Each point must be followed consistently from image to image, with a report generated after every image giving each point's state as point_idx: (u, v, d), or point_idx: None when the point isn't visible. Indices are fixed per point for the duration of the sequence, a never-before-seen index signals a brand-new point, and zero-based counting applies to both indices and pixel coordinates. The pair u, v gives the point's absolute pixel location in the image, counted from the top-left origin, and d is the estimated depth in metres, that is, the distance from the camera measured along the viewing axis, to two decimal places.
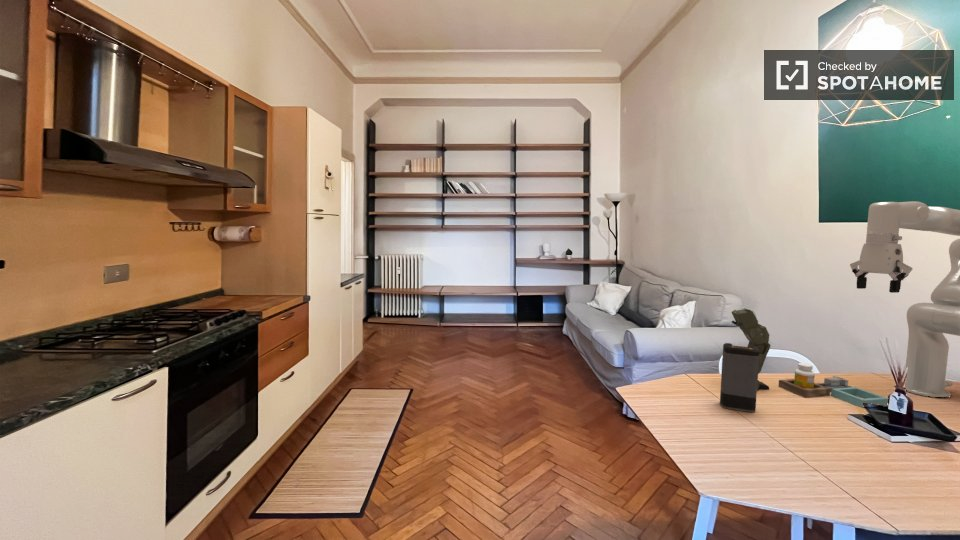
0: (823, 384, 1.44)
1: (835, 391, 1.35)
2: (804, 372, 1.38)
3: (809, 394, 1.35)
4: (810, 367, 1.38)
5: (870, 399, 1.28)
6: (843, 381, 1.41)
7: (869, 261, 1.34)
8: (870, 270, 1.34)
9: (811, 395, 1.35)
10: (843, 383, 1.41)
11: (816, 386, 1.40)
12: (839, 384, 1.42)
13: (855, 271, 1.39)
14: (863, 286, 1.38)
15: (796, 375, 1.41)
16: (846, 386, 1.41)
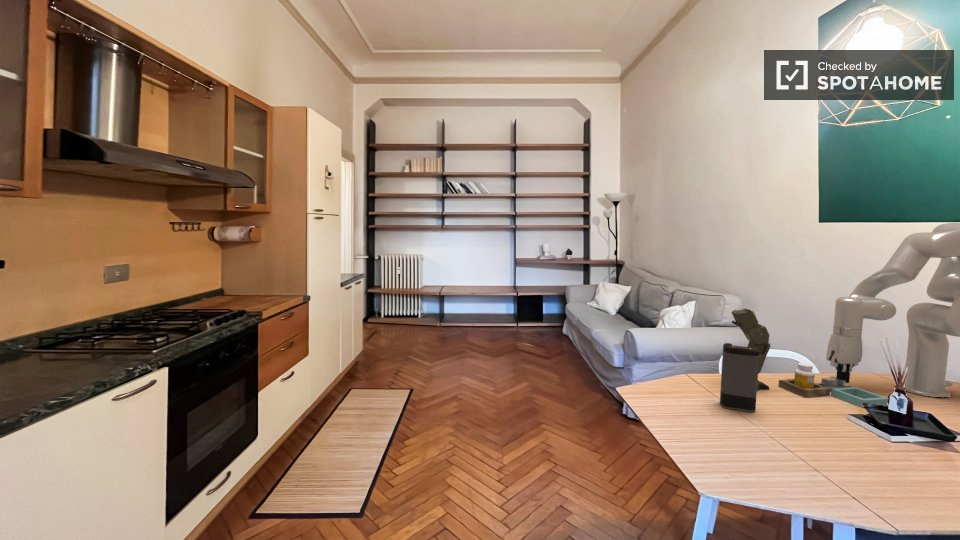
0: None
1: (835, 391, 1.35)
2: (804, 372, 1.38)
3: (809, 394, 1.35)
4: (810, 367, 1.38)
5: (870, 399, 1.28)
6: (840, 381, 1.41)
7: (849, 354, 1.40)
8: (848, 362, 1.40)
9: (811, 395, 1.35)
10: (840, 383, 1.41)
11: (816, 386, 1.40)
12: (836, 384, 1.41)
13: (841, 367, 1.42)
14: None
15: (796, 375, 1.41)
16: (846, 386, 1.41)
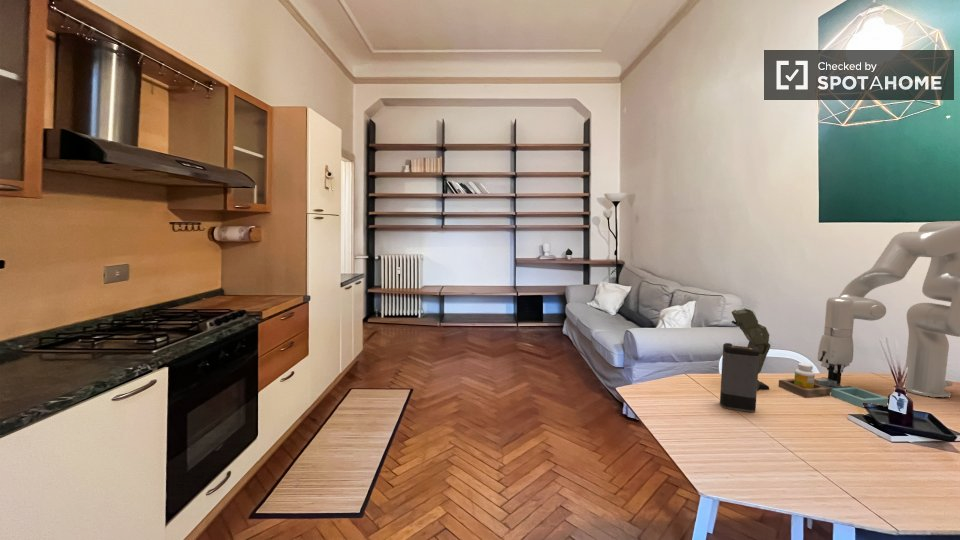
0: None
1: (835, 391, 1.35)
2: (804, 372, 1.38)
3: (809, 394, 1.35)
4: (810, 367, 1.38)
5: (870, 399, 1.28)
6: (832, 382, 1.41)
7: (840, 354, 1.39)
8: (839, 362, 1.40)
9: (811, 395, 1.35)
10: (832, 384, 1.41)
11: (816, 386, 1.40)
12: (827, 385, 1.41)
13: (832, 367, 1.41)
14: None
15: (796, 375, 1.41)
16: (846, 386, 1.41)
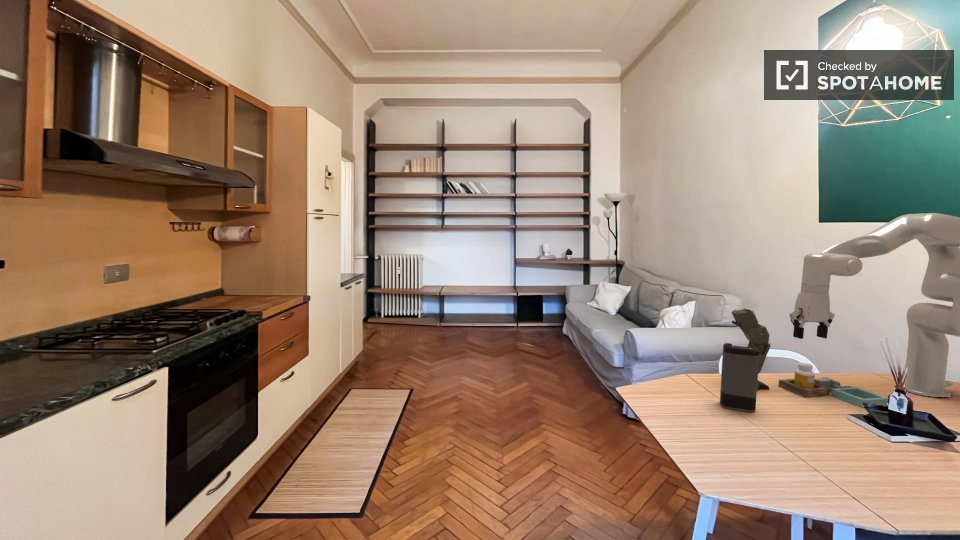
0: None
1: (835, 391, 1.35)
2: (804, 372, 1.38)
3: (809, 394, 1.35)
4: (810, 367, 1.38)
5: (870, 399, 1.28)
6: (832, 382, 1.41)
7: (816, 311, 1.36)
8: (815, 320, 1.37)
9: (811, 395, 1.35)
10: (832, 384, 1.41)
11: (816, 386, 1.40)
12: (828, 385, 1.41)
13: (797, 322, 1.37)
14: None
15: (796, 375, 1.41)
16: (846, 386, 1.41)
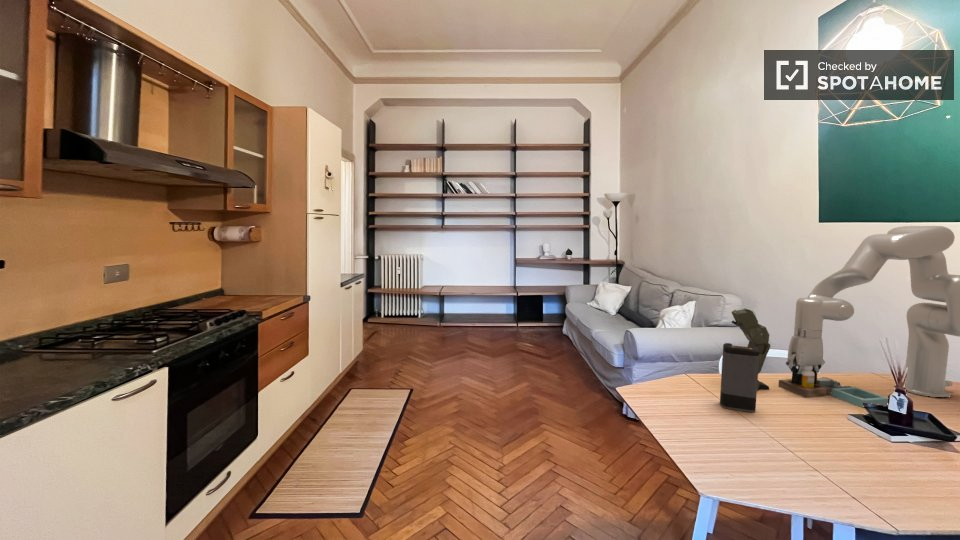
0: None
1: (835, 391, 1.35)
2: (804, 372, 1.38)
3: (809, 394, 1.35)
4: (810, 367, 1.38)
5: (870, 399, 1.28)
6: (832, 382, 1.41)
7: (809, 356, 1.37)
8: (809, 364, 1.38)
9: (811, 395, 1.35)
10: (832, 384, 1.41)
11: (816, 386, 1.40)
12: (828, 385, 1.41)
13: (795, 368, 1.38)
14: None
15: None
16: (846, 386, 1.41)
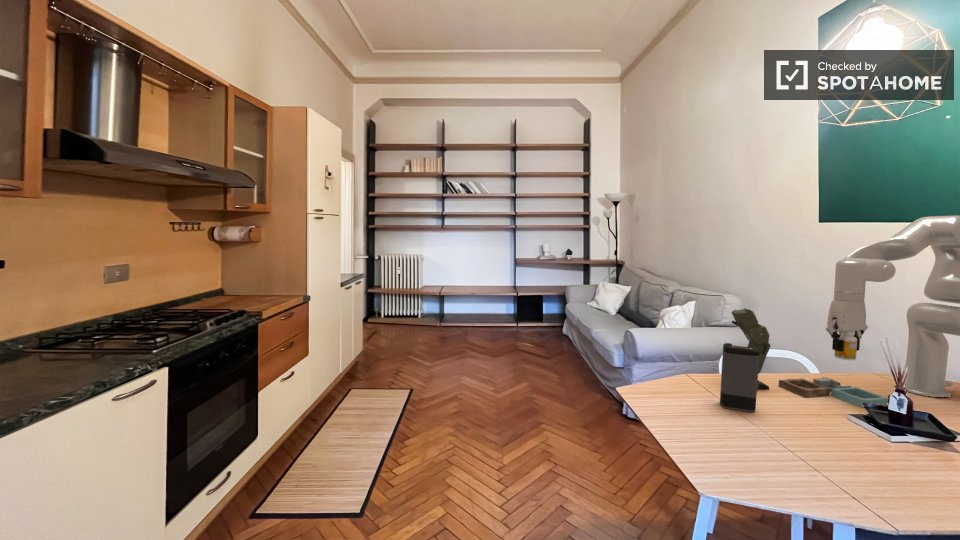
0: None
1: (835, 391, 1.35)
2: (846, 338, 1.32)
3: (809, 394, 1.35)
4: (852, 332, 1.31)
5: (870, 399, 1.28)
6: (832, 382, 1.41)
7: (851, 320, 1.30)
8: (851, 329, 1.31)
9: (811, 395, 1.35)
10: (832, 384, 1.41)
11: (816, 386, 1.40)
12: (828, 385, 1.41)
13: (837, 334, 1.32)
14: None
15: None
16: (846, 386, 1.41)
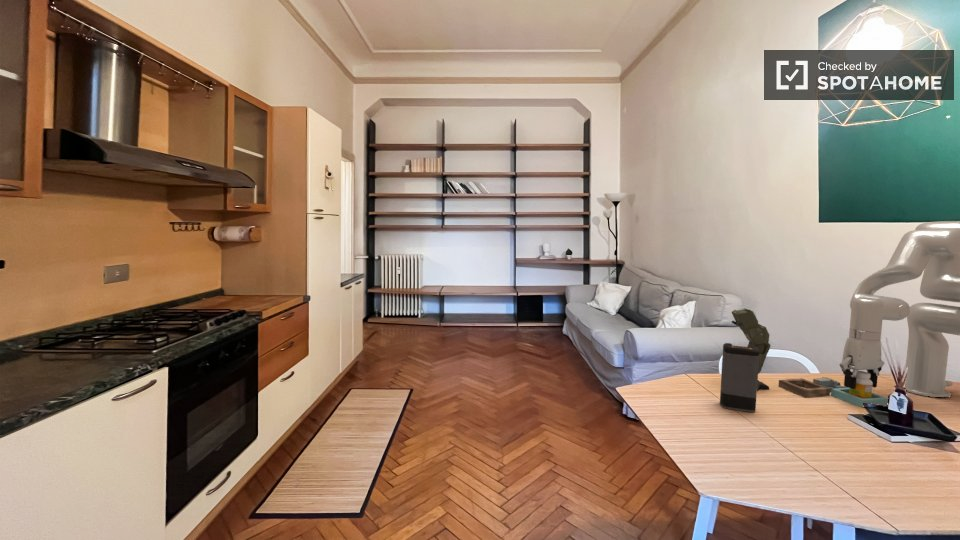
0: None
1: (835, 391, 1.35)
2: (861, 381, 1.30)
3: (809, 394, 1.35)
4: (868, 375, 1.30)
5: (870, 399, 1.28)
6: (832, 382, 1.41)
7: (867, 359, 1.29)
8: (866, 368, 1.29)
9: (811, 395, 1.35)
10: (832, 384, 1.41)
11: (816, 386, 1.40)
12: (828, 385, 1.41)
13: (849, 371, 1.30)
14: None
15: None
16: None
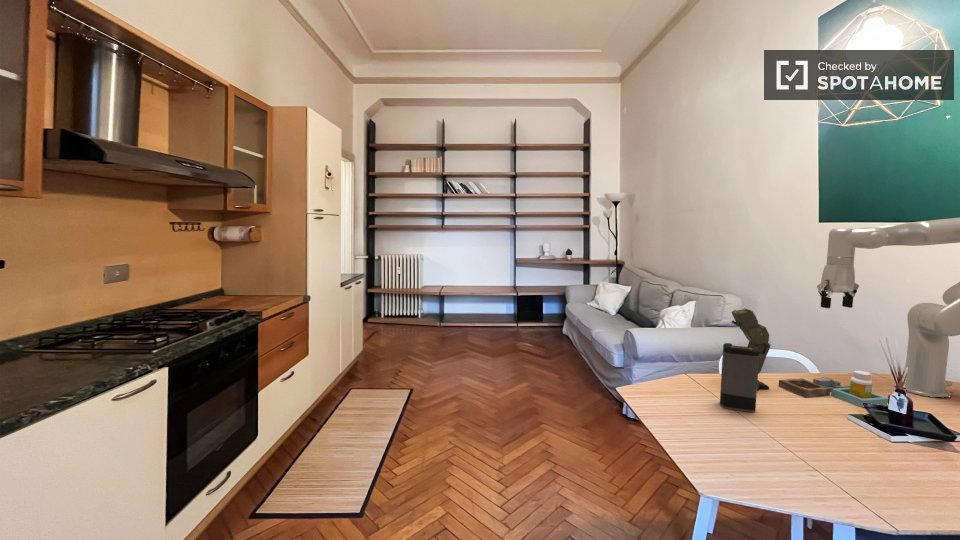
0: None
1: (835, 391, 1.35)
2: (861, 381, 1.30)
3: (809, 394, 1.35)
4: (868, 375, 1.30)
5: (870, 399, 1.28)
6: (832, 382, 1.41)
7: (842, 282, 1.45)
8: (841, 290, 1.46)
9: (811, 395, 1.35)
10: (832, 384, 1.41)
11: (816, 386, 1.40)
12: (828, 385, 1.41)
13: (825, 292, 1.46)
14: None
15: (852, 384, 1.32)
16: (846, 386, 1.41)
